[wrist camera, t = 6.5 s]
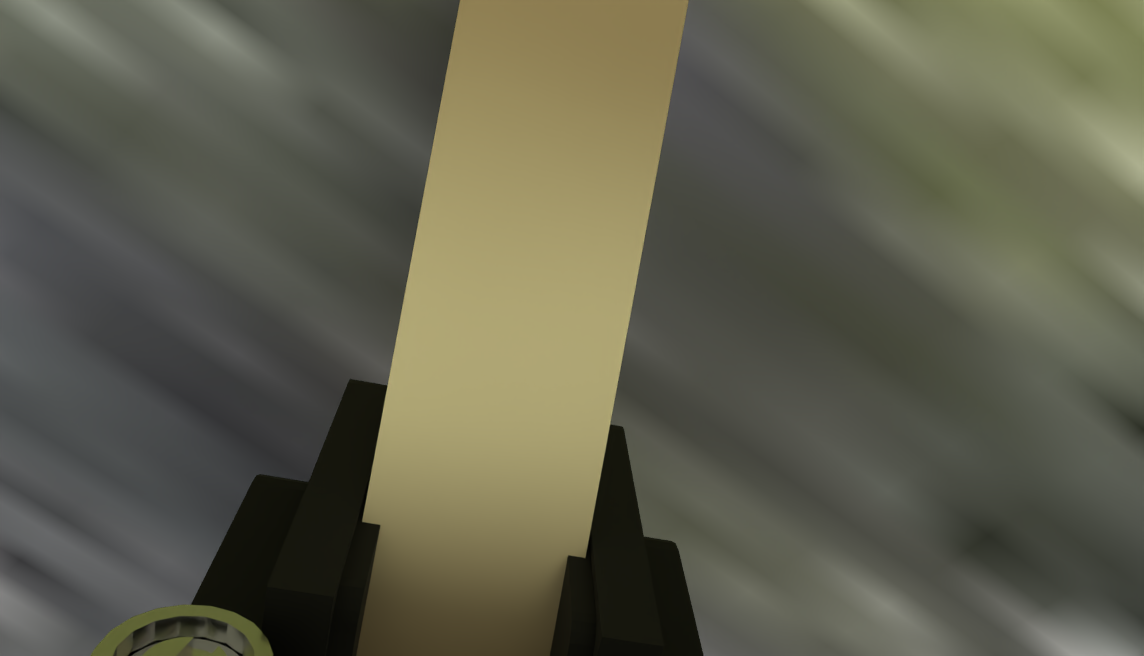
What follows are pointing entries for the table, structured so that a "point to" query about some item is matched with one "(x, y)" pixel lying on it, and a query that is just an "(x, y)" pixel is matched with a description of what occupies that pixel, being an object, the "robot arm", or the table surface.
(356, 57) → the table surface
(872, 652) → the table surface
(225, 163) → the table surface
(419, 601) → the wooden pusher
